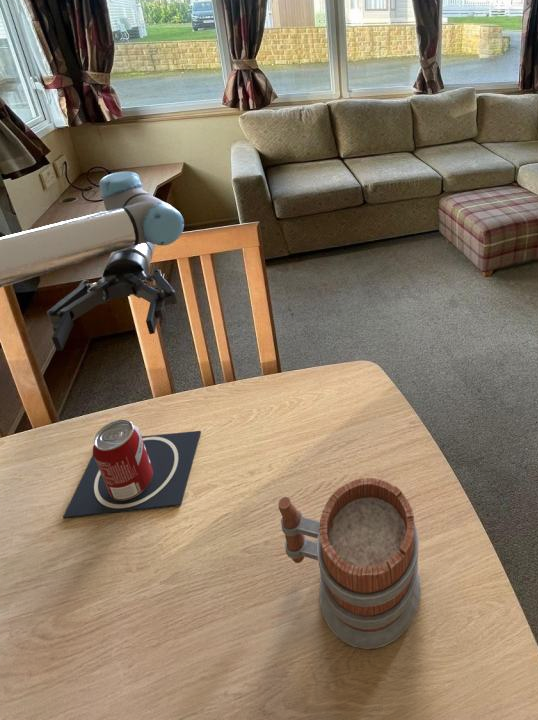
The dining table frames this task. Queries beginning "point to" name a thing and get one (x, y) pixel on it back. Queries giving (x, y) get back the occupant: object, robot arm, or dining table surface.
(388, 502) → the mug
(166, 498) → the mat
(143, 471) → the soda can
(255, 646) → the dining table surface
